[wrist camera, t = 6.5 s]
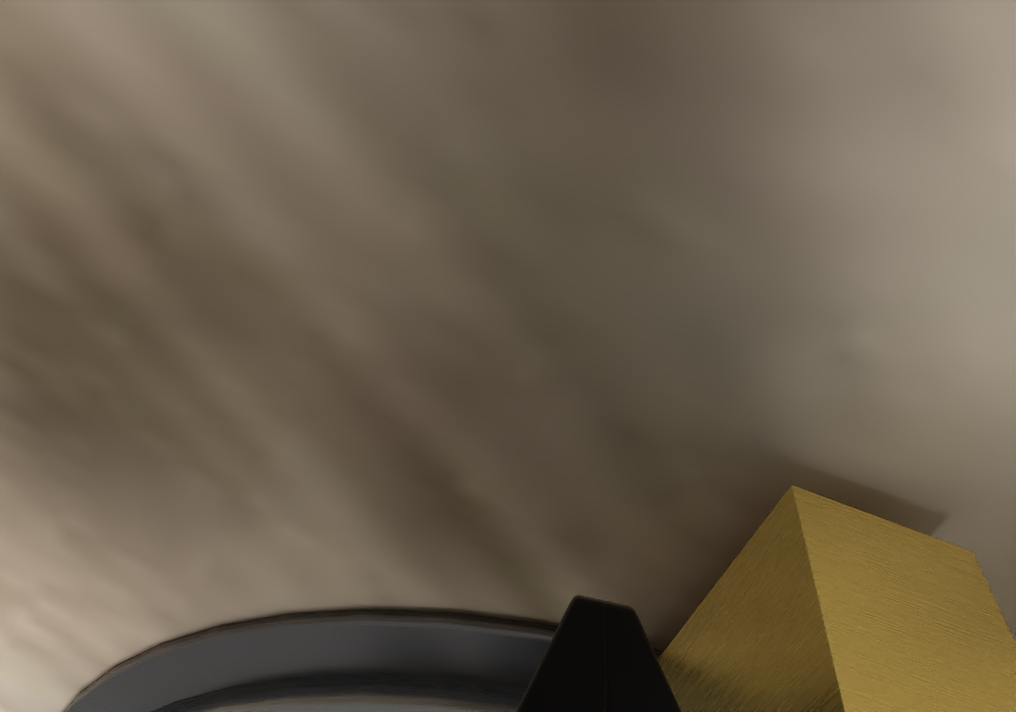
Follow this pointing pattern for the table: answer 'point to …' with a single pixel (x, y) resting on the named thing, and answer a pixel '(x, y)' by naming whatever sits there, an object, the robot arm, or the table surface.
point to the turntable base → (323, 655)
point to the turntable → (767, 634)
